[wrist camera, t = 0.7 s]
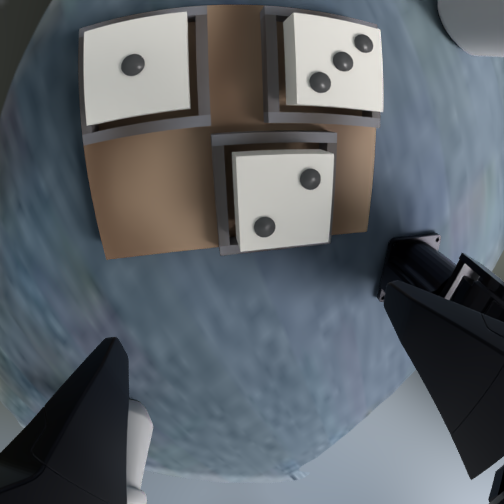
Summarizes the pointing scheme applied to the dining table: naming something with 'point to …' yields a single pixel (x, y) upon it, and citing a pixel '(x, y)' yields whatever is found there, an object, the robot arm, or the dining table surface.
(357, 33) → the tile three
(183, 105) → the tile one
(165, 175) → the board
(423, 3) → the dining table surface
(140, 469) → the salt shaker
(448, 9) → the can
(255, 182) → the tile two
